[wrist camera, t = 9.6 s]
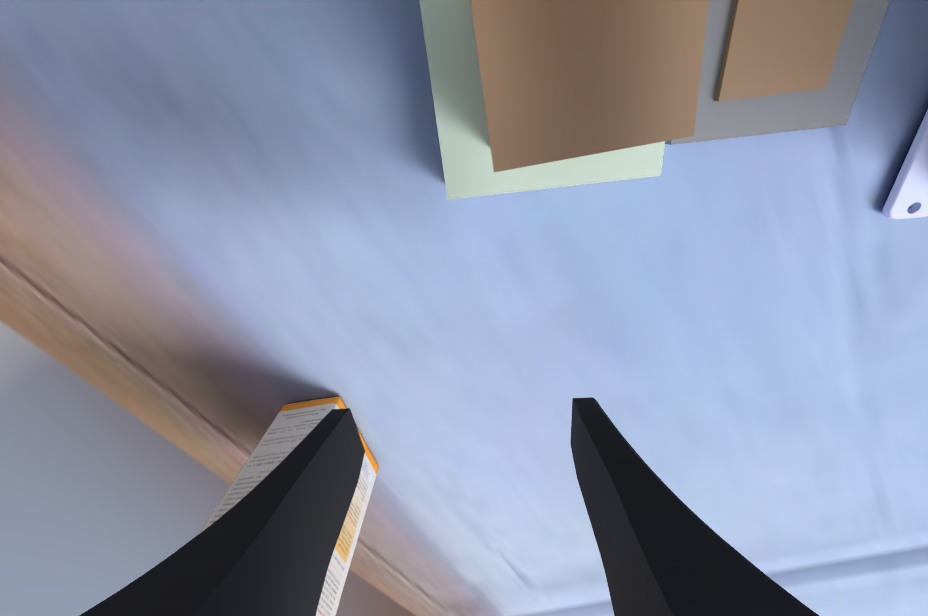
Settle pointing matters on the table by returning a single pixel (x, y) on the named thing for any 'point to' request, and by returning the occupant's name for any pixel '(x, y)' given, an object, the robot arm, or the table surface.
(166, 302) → the table surface
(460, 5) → the green block
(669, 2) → the walnut block
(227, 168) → the table surface
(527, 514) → the table surface
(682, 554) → the robot arm
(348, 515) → the supplement box
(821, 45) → the tile
